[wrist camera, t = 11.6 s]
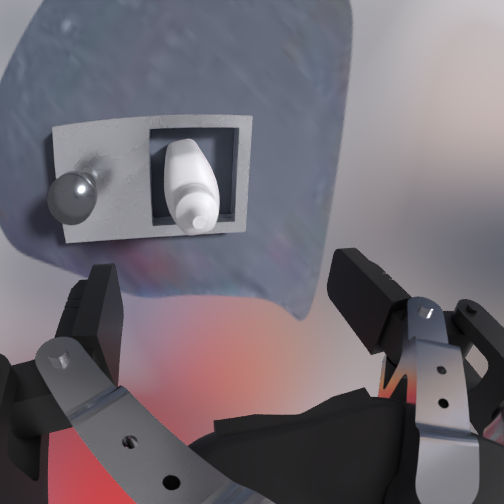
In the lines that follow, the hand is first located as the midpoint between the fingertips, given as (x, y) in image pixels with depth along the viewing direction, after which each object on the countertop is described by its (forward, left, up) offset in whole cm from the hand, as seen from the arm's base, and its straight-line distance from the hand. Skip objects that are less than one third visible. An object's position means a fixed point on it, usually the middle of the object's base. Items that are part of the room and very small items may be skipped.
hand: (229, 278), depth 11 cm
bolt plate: (0, -3, -17) cm, 18 cm away
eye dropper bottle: (0, 0, -17) cm, 17 cm away
